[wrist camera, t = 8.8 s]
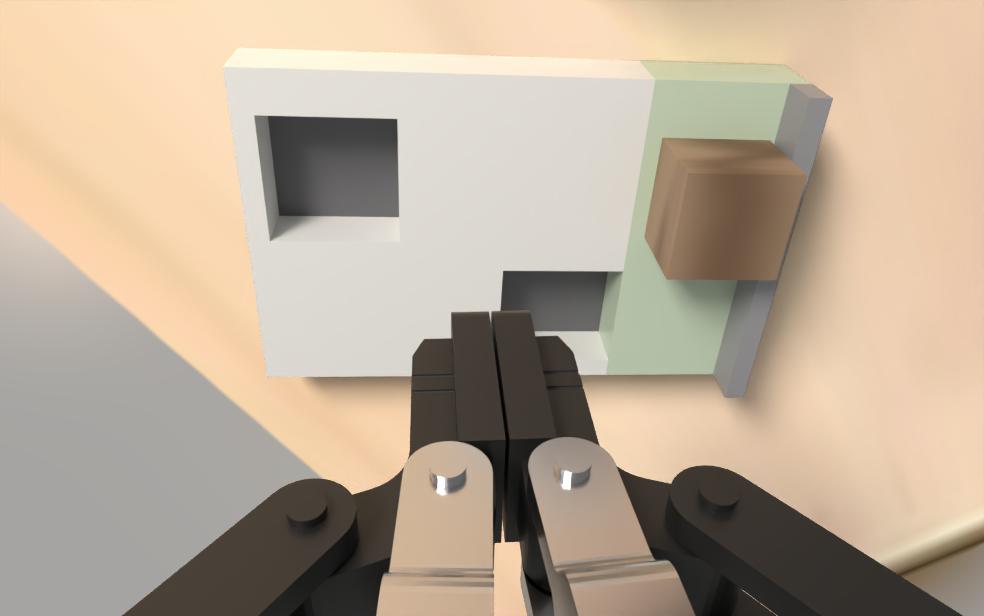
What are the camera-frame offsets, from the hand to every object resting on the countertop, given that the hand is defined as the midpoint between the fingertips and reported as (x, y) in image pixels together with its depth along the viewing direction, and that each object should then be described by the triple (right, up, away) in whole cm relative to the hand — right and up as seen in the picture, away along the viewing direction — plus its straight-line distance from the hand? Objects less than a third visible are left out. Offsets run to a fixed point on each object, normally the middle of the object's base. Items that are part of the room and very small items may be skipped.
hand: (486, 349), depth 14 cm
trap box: (+1, +6, +24) cm, 25 cm away
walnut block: (+10, +6, +21) cm, 24 cm away
